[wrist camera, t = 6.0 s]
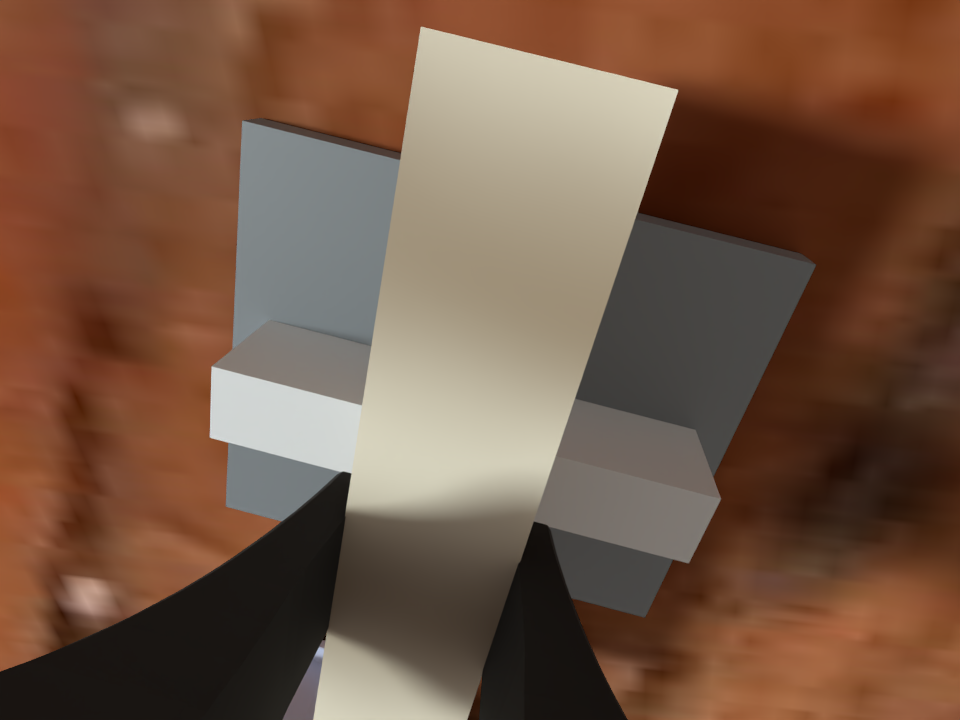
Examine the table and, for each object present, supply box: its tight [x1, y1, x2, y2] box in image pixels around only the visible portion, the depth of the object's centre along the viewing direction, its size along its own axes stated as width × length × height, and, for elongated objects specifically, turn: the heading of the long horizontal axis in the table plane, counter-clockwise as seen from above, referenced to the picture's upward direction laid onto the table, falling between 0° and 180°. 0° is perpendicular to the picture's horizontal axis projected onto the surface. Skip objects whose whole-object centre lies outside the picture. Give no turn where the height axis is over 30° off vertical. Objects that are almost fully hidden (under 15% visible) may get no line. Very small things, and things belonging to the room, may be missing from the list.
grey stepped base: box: [210, 118, 816, 618], centre depth 16 cm, size 12×14×4 cm
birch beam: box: [313, 27, 678, 720], centre depth 13 cm, size 18×3×4 cm, turn 167°
